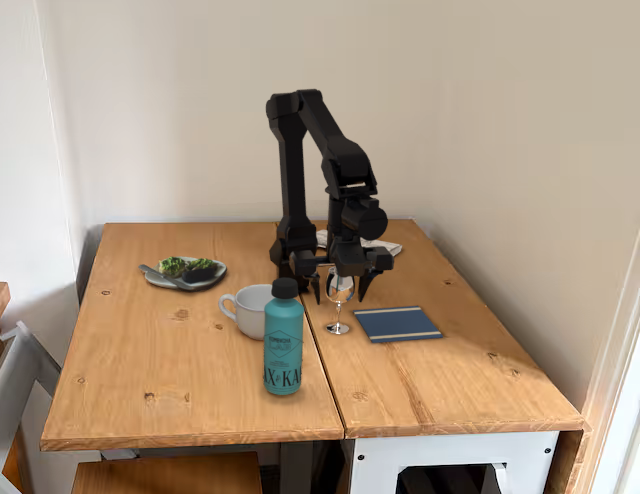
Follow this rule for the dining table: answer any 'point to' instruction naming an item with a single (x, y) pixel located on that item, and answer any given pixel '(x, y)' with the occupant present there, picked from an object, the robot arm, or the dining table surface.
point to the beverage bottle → (283, 338)
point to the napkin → (396, 324)
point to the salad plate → (185, 273)
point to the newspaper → (389, 246)
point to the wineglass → (338, 296)
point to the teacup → (249, 308)
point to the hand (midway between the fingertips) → (339, 303)
